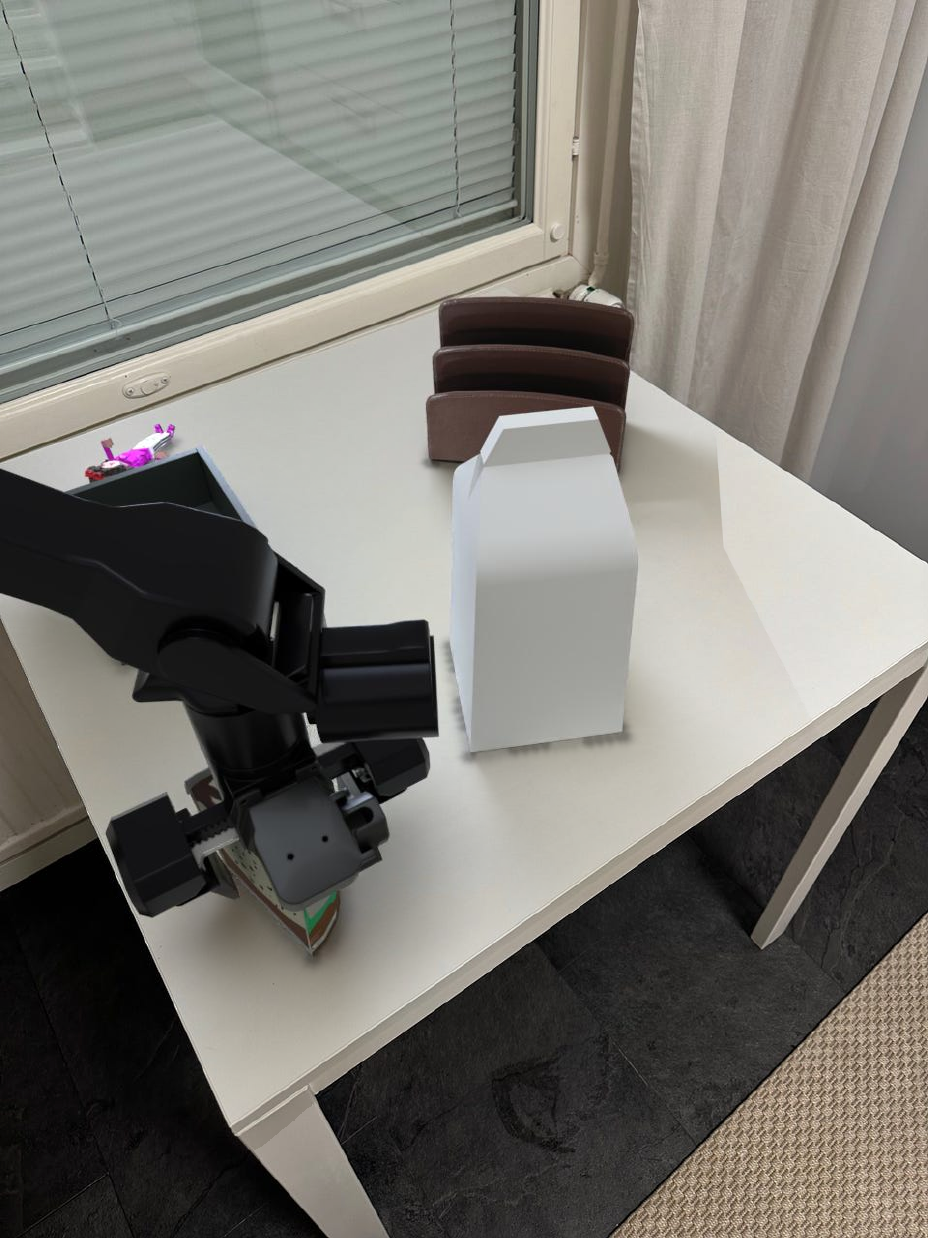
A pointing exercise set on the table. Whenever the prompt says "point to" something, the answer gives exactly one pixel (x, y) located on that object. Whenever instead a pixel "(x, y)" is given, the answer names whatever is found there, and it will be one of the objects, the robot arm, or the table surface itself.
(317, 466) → the table surface
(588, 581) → the milk
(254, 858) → the cake slice
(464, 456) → the letter holder
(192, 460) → the storage box
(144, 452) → the character figurine
